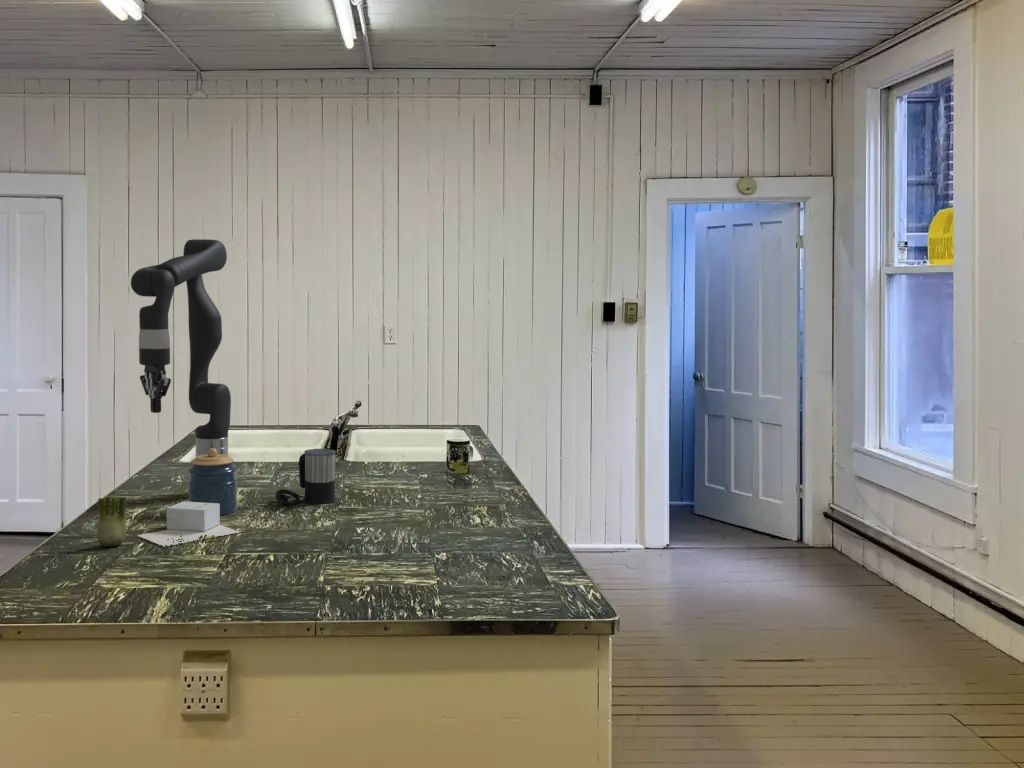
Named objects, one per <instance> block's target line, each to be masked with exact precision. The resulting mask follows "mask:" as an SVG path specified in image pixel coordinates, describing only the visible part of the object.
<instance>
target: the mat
mask: <svg viewBox="0 0 1024 768" xmlns="http://www.w3.org/2000/svg"><path fill="white" fill-rule="evenodd" d="M234 533H240V534H241V531H239V530H235V529H233V528H230V527H227V526H224V525H222V524H219V525H217V526H215V527H213V528H210V529H208V530H206V531H190V530H174V529H165V530H159V531H154V532H147V533H142V534H137V535H136V537H137V538H139V537H140V538H139V539H141V538H143V539H142V540H144V539H146V540H149V541H151V542H153V543H156V544H159V545H162V546H164V547H165V545H167V546H170V545H171V544H172V545H176V544H178V543H186V542H188V541H190V542H191V541H193V540H194V541H195V540H197V539H198V540H199V538H198V537H200V536H201V535H202V536H203V535H204V534H205V535H209V536H212V535H214V536H215V537H217V536H224V535H230V534H234ZM181 535H182V537H180V536H181ZM230 536H231V535H230ZM172 538H173V539H172ZM182 538H183V539H182ZM167 539H169V540H167ZM178 539H182V540H178ZM146 540H145V541H146ZM173 540H174V541H173ZM176 540H177V541H176ZM183 540H184V541H183ZM178 541H182V542H178ZM151 542H150V543H151ZM173 542H174V543H173ZM153 543H152V544H153Z"/></svg>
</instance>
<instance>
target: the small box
mask: <svg viewBox="0 0 1024 768" xmlns="http://www.w3.org/2000/svg"><path fill="white" fill-rule="evenodd" d="M220 516H221V515H220V504H219V503H201V502H189V501H185V500H183V501H181V502H178V503H176V504H174V505H171V506H168V507H166V528H167V529H166V530H169V529H174V530H190V531H206V530H208V529H210V528H213V527H215V526H217V525H221V524H220V521H221V520H220V519H221V517H220Z"/></svg>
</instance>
